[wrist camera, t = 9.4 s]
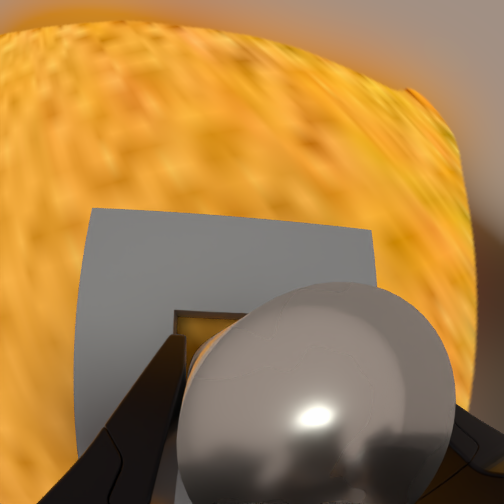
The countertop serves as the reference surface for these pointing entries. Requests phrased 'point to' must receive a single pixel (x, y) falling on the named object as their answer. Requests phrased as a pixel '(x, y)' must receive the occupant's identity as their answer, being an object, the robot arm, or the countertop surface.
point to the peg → (318, 402)
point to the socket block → (186, 289)
